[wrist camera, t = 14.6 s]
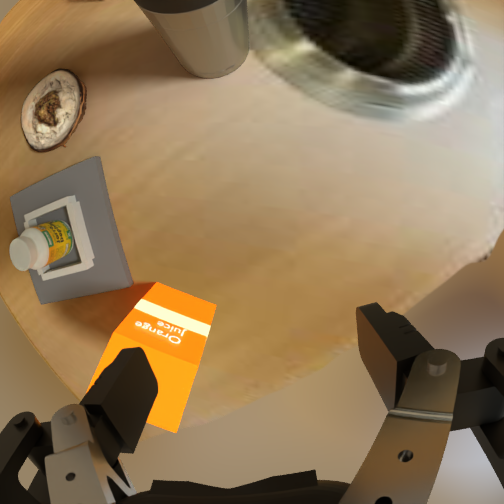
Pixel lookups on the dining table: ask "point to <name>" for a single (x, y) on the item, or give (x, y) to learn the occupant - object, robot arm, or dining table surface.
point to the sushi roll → (53, 110)
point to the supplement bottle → (41, 245)
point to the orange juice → (165, 346)
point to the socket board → (75, 233)
